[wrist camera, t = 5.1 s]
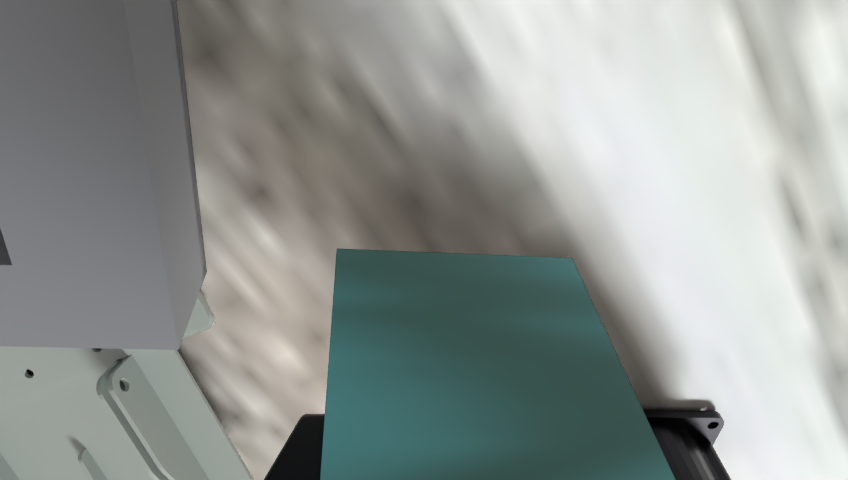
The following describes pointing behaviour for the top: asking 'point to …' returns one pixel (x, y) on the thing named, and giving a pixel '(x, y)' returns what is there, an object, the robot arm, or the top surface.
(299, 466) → the robot arm
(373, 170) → the top surface
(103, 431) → the metal bracket
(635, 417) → the teal peg
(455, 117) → the top surface
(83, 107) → the well block
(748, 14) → the top surface
